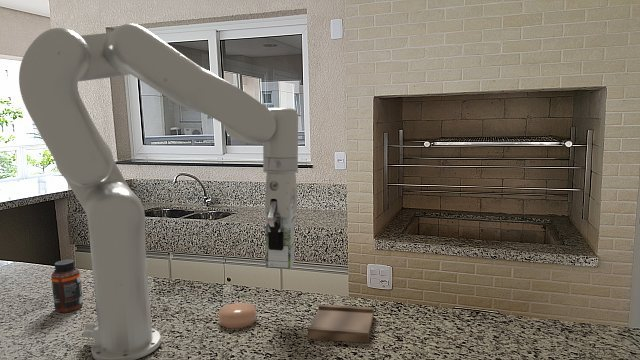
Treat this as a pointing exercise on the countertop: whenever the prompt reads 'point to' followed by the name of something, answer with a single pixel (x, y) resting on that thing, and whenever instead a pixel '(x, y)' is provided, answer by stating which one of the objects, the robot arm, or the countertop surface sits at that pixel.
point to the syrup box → (285, 256)
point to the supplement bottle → (66, 286)
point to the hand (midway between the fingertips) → (280, 244)
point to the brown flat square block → (342, 323)
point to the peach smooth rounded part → (237, 315)
